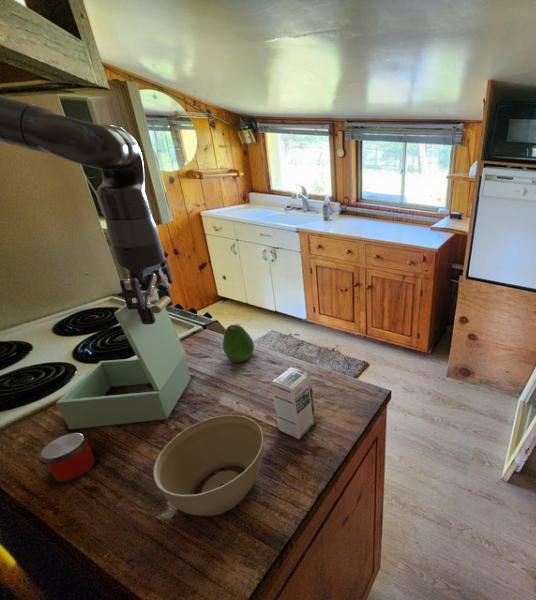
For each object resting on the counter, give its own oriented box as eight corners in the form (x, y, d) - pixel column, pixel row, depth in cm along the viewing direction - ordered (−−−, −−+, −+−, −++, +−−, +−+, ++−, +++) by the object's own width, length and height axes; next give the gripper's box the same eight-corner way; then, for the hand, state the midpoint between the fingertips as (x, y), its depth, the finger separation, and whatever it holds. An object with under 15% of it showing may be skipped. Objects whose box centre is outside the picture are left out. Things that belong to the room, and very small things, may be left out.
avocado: (220, 364, 93) (212, 327, 88) (242, 350, 100) (235, 315, 95) (241, 371, 90) (233, 334, 85) (262, 357, 97) (256, 322, 92)
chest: (71, 432, 69) (55, 402, 66) (111, 387, 82) (99, 361, 79) (168, 422, 73) (158, 393, 70) (191, 380, 86) (184, 354, 83)
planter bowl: (203, 562, 49) (187, 518, 44) (153, 503, 57) (134, 460, 52) (289, 481, 61) (282, 440, 57) (238, 441, 69) (228, 402, 65)
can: (48, 487, 58) (31, 460, 56) (70, 460, 63) (55, 434, 61) (85, 482, 60) (70, 456, 57) (103, 456, 65) (91, 430, 62)
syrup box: (299, 442, 70) (293, 389, 63) (278, 433, 72) (270, 380, 66) (316, 424, 74) (311, 373, 68) (296, 415, 76) (290, 365, 70)
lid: (113, 312, 61) (143, 308, 62) (150, 283, 74) (175, 280, 75) (155, 392, 69) (181, 387, 70) (182, 353, 82) (204, 350, 83)
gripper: (133, 231, 69) (154, 301, 75) (90, 250, 56) (120, 331, 63) (173, 231, 70) (190, 299, 77) (139, 250, 57) (163, 329, 64)
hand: (158, 313), depth 70 cm, fingers open, 8 cm apart
